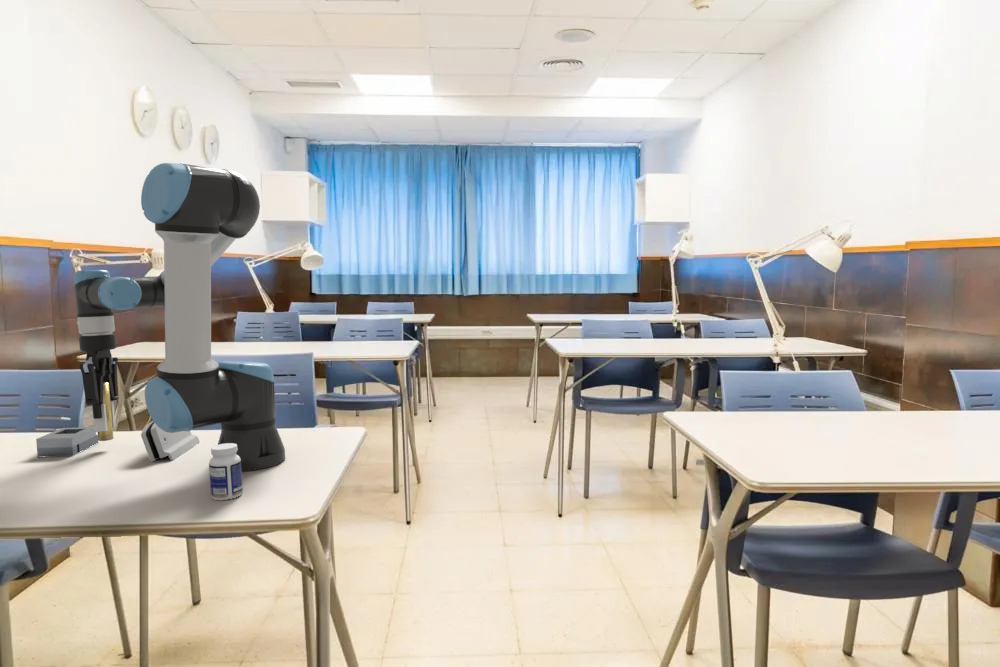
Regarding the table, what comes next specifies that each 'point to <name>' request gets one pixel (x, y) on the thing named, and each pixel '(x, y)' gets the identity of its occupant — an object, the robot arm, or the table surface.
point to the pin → (106, 400)
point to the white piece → (166, 442)
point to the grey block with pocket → (66, 441)
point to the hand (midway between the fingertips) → (105, 429)
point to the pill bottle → (225, 472)
